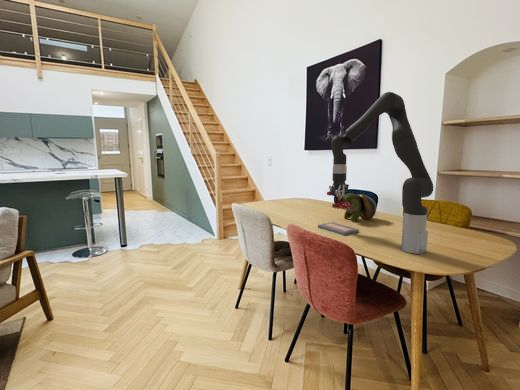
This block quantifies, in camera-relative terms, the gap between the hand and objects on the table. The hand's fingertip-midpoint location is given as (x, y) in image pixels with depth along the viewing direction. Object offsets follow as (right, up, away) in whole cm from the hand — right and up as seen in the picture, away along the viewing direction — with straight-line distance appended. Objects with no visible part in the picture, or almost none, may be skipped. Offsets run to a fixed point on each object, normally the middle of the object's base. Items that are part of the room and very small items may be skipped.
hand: (338, 202), depth 160 cm
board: (0, -16, +2) cm, 16 cm away
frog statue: (+20, -12, +26) cm, 35 cm away
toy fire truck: (0, -4, 0) cm, 4 cm away
